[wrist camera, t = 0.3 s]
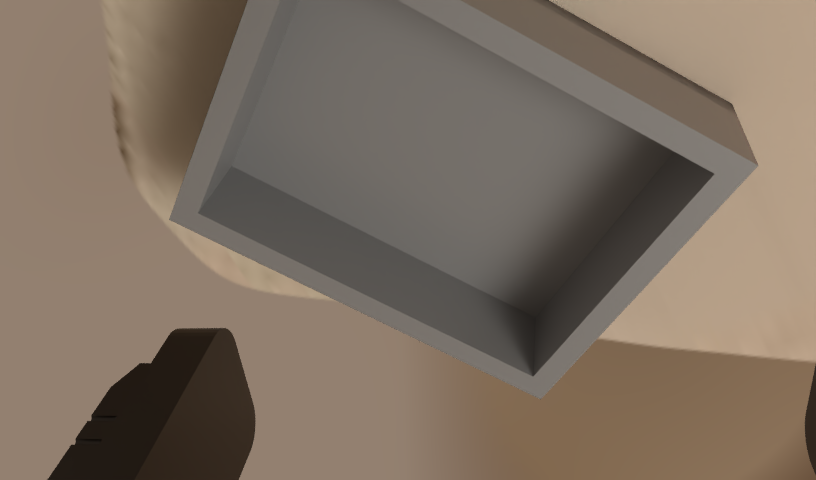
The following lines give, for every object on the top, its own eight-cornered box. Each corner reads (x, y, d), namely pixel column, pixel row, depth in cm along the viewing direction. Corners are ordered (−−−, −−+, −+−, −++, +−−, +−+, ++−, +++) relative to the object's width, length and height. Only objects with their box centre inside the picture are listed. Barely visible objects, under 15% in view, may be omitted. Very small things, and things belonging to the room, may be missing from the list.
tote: (323, -127, 28) (283, -99, 24) (732, 104, 30) (758, 165, 26) (213, 161, 36) (169, 219, 32) (543, 326, 38) (540, 399, 34)
